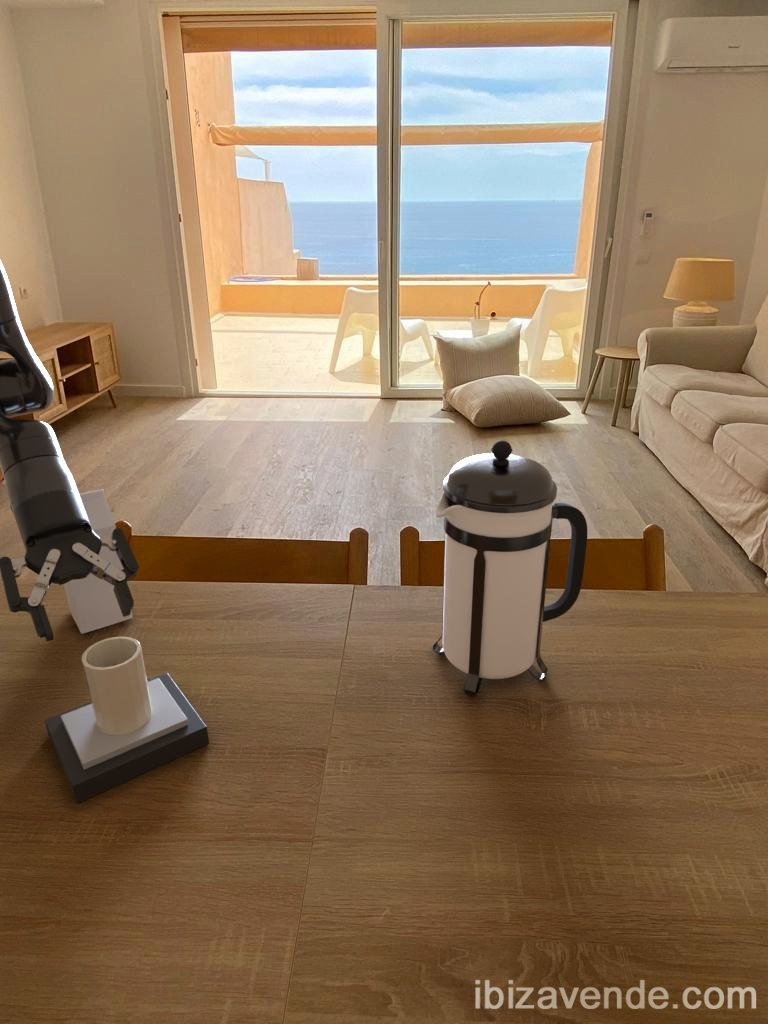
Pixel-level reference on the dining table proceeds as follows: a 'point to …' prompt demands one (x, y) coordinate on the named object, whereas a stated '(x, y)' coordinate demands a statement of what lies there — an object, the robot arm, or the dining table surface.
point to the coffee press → (501, 564)
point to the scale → (125, 741)
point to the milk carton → (92, 595)
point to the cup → (117, 685)
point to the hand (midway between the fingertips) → (90, 626)
